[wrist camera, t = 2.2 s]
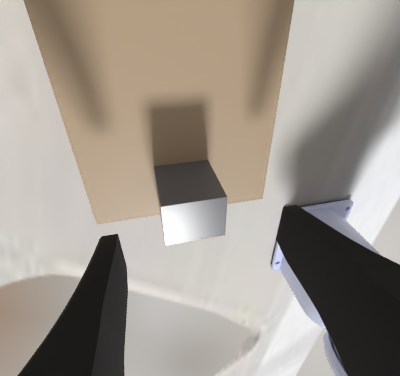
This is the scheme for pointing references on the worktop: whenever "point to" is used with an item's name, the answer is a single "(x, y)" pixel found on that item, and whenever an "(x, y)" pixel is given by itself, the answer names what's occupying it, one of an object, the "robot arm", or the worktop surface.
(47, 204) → the worktop surface
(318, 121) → the worktop surface
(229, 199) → the carton lid
